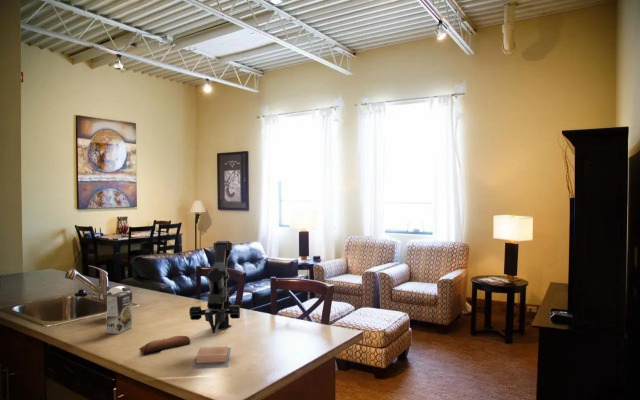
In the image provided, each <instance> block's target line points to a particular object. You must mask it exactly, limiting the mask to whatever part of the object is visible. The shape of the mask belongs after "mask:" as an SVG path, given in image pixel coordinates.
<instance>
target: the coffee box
mask: <svg viewBox="0 0 640 400" xmlns="http://www.w3.org/2000/svg"><path fill="white" fill-rule="evenodd" d="M106 317H107V319H106V333H107V334H115V335H118V334H121V333H124V332H126V331H127V330H131V329H132V327H133V292H131V291H129V292H119V293H115V294H112V295H109V296H107V300H106Z"/></svg>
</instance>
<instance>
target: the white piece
mask: <svg viewBox="0 0 640 400" xmlns="http://www.w3.org/2000/svg"><path fill="white" fill-rule="evenodd" d="M130 290H131V287H130V286H123V285H118V286H115V285H114V284H113V285H108V286H106V288H105V291H106V292H107V293H106V295H105V298H106V301H107V296H109V295H112V294H115V293H119V292H130ZM105 319H106V320H107V316H105Z"/></svg>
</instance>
